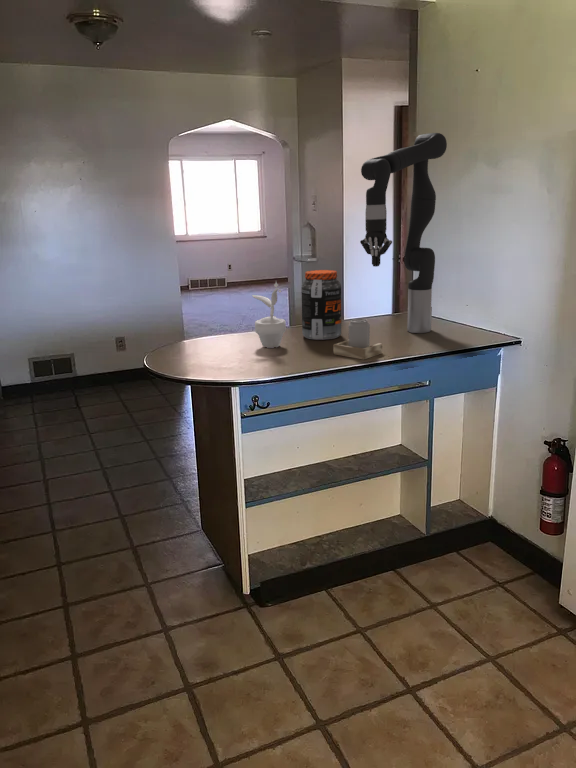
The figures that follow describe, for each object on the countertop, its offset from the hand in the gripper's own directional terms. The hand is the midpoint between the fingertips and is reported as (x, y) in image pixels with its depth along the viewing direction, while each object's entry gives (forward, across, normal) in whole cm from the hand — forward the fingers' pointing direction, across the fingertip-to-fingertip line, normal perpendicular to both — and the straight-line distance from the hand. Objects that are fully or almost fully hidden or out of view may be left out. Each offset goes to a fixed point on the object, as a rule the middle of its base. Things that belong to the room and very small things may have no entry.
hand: (376, 266), depth 233 cm
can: (+29, -4, +17) cm, 34 cm away
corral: (+28, -5, +18) cm, 34 cm away
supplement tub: (+29, +23, +4) cm, 37 cm away
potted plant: (+28, +29, +28) cm, 50 cm away
